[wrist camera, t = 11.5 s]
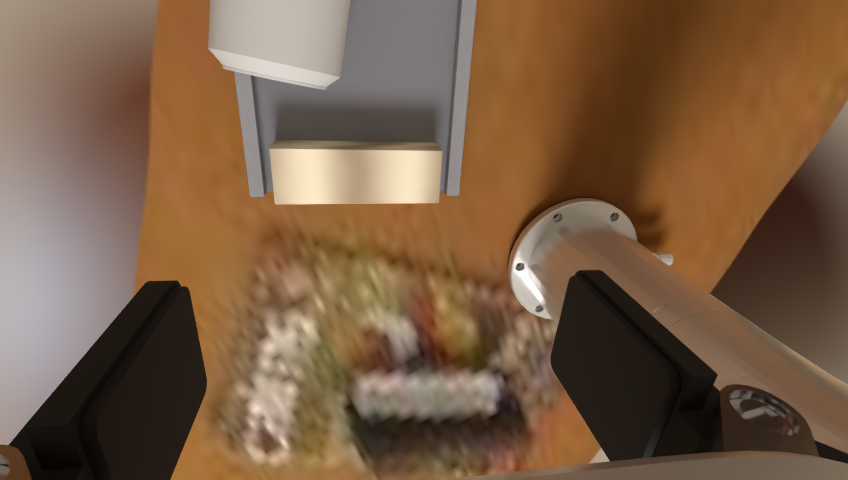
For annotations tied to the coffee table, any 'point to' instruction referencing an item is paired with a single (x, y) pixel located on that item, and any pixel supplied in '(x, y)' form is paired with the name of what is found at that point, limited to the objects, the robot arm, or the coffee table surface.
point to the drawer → (373, 88)
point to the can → (281, 38)
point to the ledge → (355, 172)
